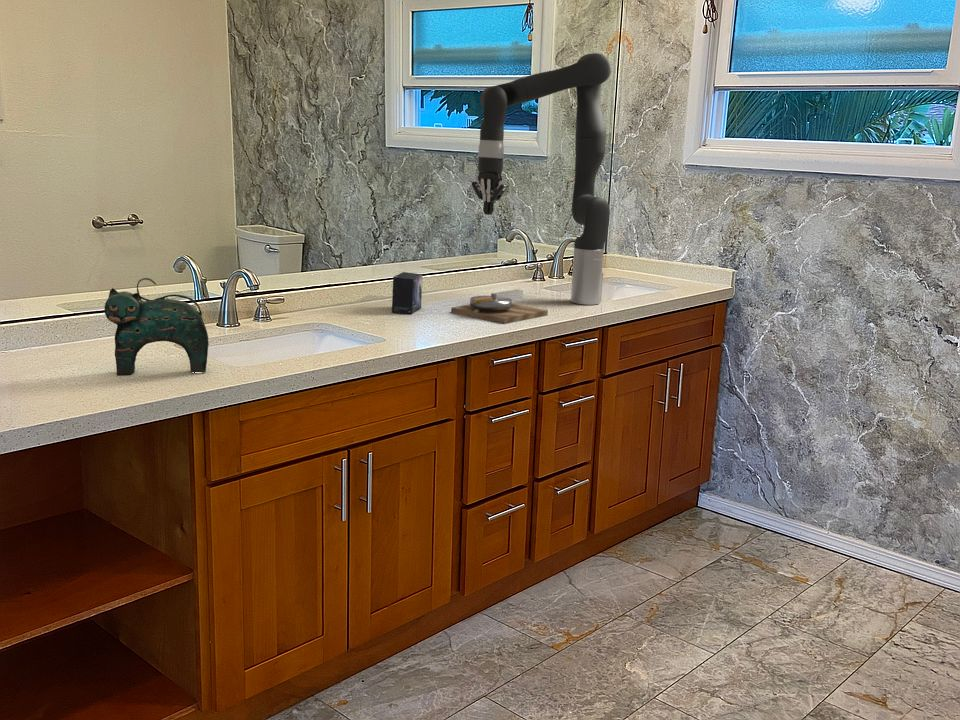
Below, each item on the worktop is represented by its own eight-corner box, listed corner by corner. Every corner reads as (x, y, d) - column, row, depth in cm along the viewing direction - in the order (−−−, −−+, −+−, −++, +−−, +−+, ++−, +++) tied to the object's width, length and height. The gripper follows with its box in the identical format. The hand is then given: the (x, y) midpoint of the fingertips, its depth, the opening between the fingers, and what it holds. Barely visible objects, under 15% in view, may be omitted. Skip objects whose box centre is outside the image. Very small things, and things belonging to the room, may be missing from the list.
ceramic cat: (107, 377, 194) (102, 279, 189) (111, 369, 200) (106, 274, 195) (208, 375, 198) (206, 280, 193) (209, 367, 204) (207, 275, 200)
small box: (413, 315, 271) (414, 278, 268) (390, 313, 272) (391, 276, 269) (422, 308, 281) (423, 273, 278) (401, 306, 282) (402, 271, 279)
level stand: (494, 304, 291) (495, 298, 291) (547, 315, 279) (548, 308, 278) (451, 312, 276) (451, 305, 276) (504, 323, 264) (505, 316, 263)
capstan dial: (489, 314, 266) (490, 299, 265) (458, 307, 274) (459, 293, 273) (535, 306, 281) (536, 292, 280) (504, 300, 289) (505, 287, 288)
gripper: (465, 154, 286) (463, 212, 290) (500, 157, 278) (497, 217, 282) (481, 154, 291) (479, 212, 295) (516, 157, 283) (513, 215, 287)
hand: (488, 214), depth 289 cm, fingers closed
